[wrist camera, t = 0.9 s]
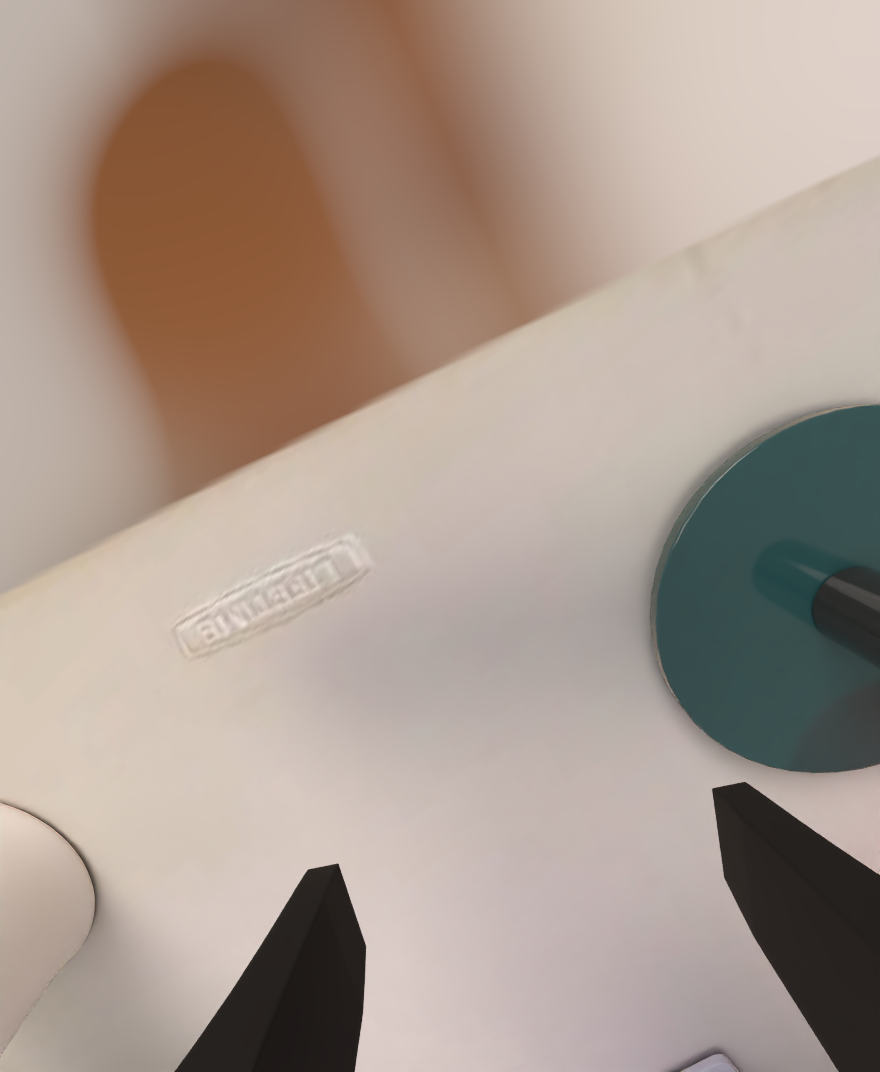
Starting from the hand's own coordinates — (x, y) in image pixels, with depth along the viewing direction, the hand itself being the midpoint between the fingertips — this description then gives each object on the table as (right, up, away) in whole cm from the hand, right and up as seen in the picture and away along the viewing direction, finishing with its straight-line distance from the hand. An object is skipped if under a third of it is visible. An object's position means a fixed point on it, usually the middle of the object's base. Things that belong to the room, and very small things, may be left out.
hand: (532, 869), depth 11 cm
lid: (+12, +4, +8) cm, 15 cm away
